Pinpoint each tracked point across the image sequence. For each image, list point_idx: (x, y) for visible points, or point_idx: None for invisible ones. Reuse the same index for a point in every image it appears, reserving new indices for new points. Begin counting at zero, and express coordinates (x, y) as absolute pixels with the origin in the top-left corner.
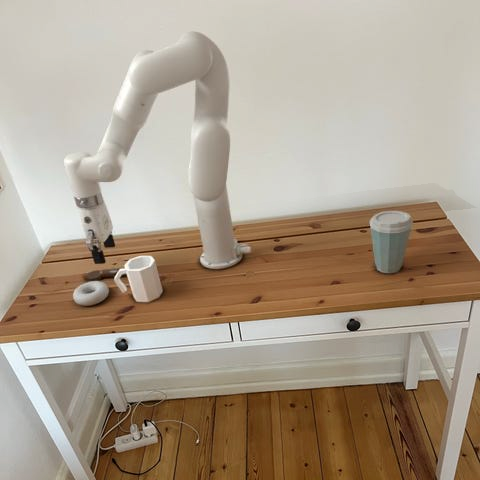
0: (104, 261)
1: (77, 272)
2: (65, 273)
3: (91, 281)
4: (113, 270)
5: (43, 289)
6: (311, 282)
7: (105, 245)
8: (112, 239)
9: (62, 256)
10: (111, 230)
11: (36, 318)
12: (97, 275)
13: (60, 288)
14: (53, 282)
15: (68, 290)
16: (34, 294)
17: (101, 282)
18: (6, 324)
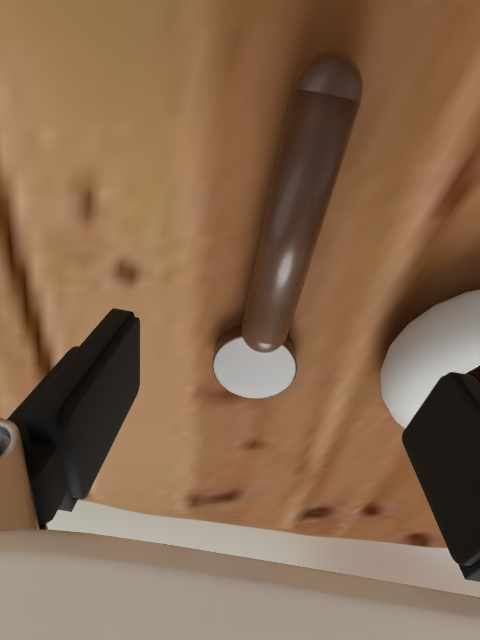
0: (476, 388)
1: (178, 421)
2: (176, 453)
3: (421, 393)
4: (293, 278)
5: (273, 495)
6: None
7: (130, 396)
8: (91, 369)
9: None
10: (108, 583)
11: None
12: (274, 356)
13: (291, 459)
14: (234, 477)
15: (322, 438)
16: (296, 510)
17: (475, 343)
18: (443, 547)
